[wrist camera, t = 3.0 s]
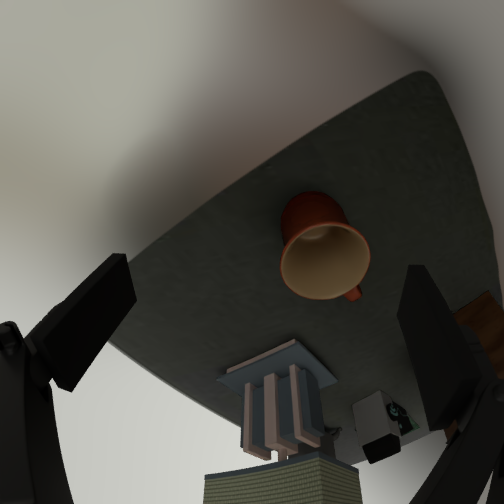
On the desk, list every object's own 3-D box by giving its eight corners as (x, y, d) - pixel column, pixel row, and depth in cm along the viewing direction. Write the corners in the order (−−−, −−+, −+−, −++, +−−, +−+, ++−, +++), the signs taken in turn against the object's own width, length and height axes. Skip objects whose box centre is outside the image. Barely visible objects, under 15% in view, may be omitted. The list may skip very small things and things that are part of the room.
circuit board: (401, 408, 65) (402, 410, 64) (419, 426, 73) (419, 428, 72) (354, 429, 69) (354, 431, 69) (379, 444, 78) (379, 446, 77)
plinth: (409, 339, 50) (448, 445, 32) (488, 290, 44) (546, 382, 26) (427, 373, 57) (457, 459, 38) (493, 332, 51) (535, 412, 32)
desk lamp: (302, 329, 48) (325, 542, 21) (340, 369, 54) (368, 537, 27) (214, 370, 54) (197, 546, 27) (260, 401, 60) (260, 551, 33)
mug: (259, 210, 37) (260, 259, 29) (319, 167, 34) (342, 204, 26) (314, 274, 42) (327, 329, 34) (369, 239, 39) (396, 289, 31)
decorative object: (386, 423, 68) (397, 471, 55) (351, 404, 62) (362, 463, 49) (412, 409, 65) (426, 458, 52) (382, 388, 59) (397, 448, 46)
